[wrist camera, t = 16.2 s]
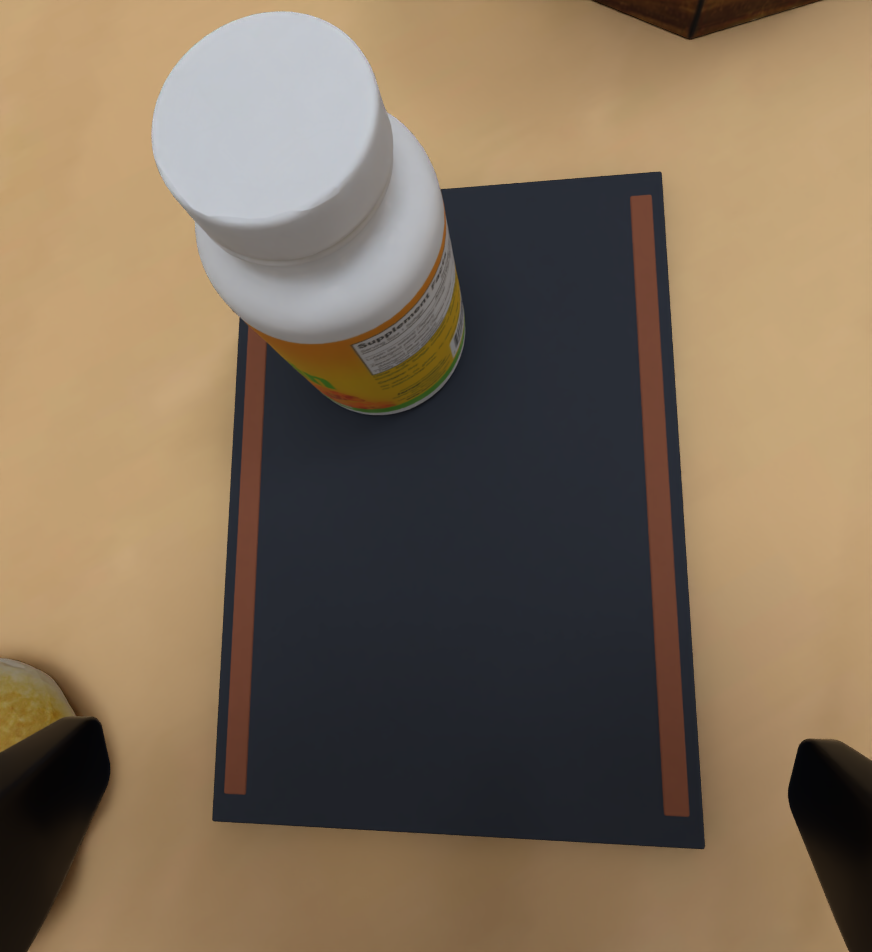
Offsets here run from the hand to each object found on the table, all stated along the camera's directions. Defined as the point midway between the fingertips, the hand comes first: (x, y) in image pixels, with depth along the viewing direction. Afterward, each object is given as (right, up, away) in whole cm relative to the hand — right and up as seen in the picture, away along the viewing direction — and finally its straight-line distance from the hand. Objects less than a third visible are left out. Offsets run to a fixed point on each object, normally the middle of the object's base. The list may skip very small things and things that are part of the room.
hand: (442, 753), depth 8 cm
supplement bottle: (-2, +8, +12) cm, 14 cm away
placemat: (0, +3, +11) cm, 12 cm away
